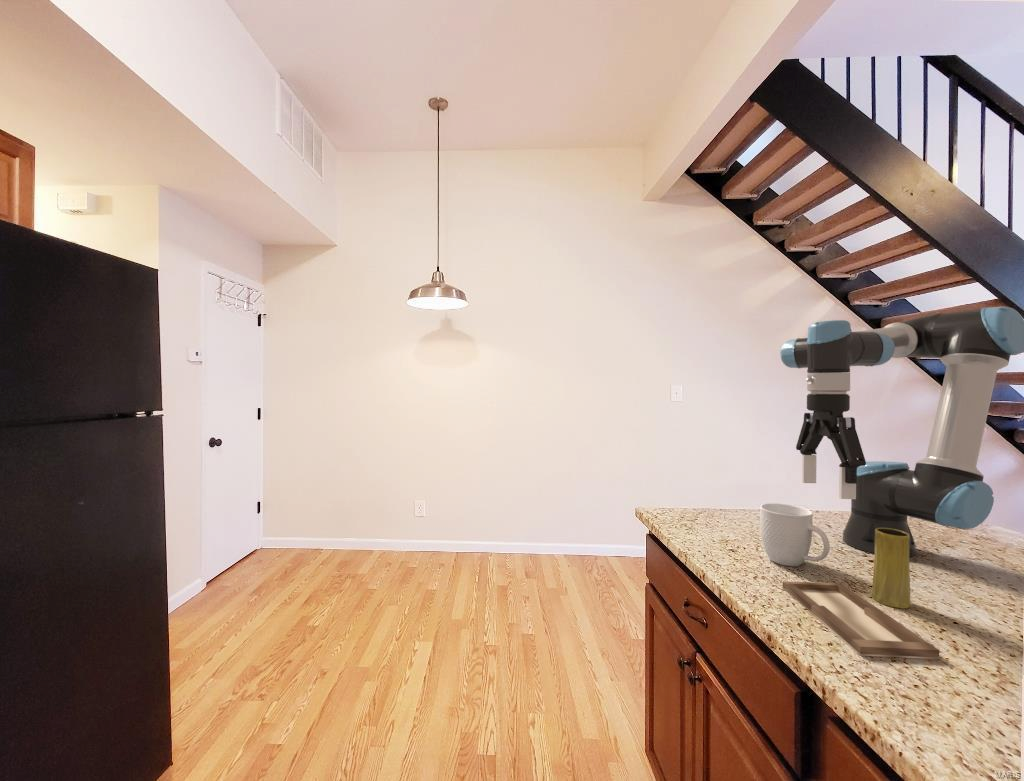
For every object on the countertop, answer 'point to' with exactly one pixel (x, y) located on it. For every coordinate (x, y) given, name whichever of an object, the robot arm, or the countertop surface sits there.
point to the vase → (891, 568)
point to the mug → (789, 534)
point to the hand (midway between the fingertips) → (826, 490)
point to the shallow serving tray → (859, 621)
